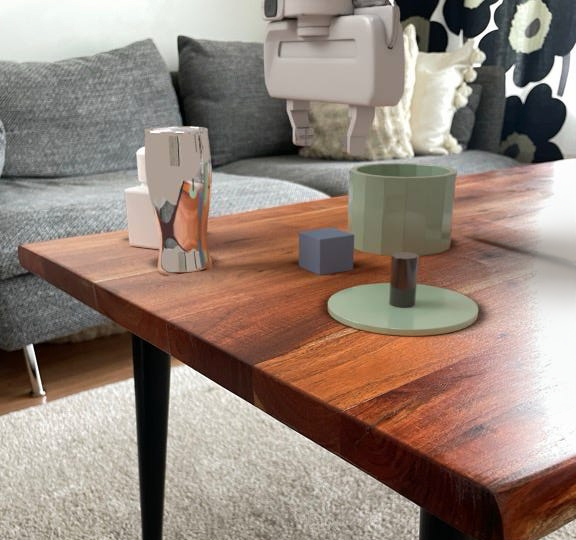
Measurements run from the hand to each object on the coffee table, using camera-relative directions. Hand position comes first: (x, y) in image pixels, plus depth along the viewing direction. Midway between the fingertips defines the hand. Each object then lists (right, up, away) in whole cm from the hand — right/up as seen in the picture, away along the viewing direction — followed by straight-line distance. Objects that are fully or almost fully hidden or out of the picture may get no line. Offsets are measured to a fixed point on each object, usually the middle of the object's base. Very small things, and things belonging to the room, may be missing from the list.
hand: (326, 149), depth 74 cm
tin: (+10, -7, +16) cm, 20 cm away
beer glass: (-16, -11, +7) cm, 21 cm away
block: (0, -12, +6) cm, 13 cm away
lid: (+6, -17, -8) cm, 20 cm away
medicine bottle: (-19, -6, +19) cm, 28 cm away
